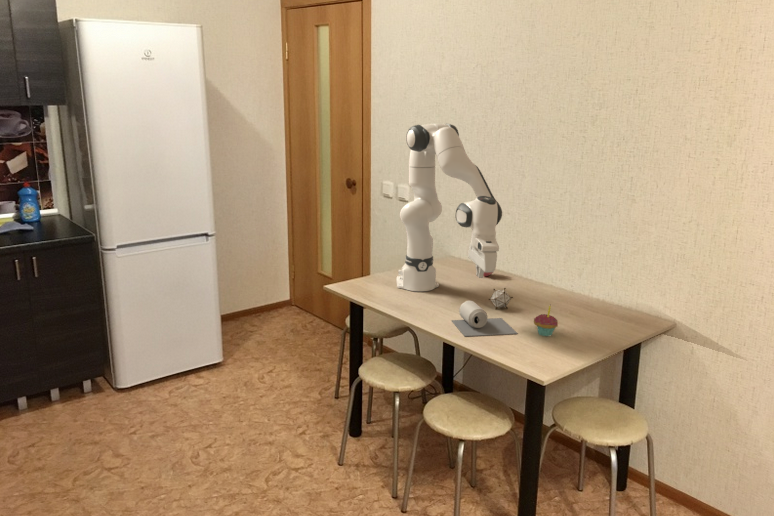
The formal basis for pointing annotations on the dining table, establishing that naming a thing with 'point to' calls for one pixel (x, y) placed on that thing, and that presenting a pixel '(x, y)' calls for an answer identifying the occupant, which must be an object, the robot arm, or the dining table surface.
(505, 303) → the game die
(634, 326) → the dining table surface
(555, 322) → the cupcake
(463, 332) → the mat
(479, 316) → the can
